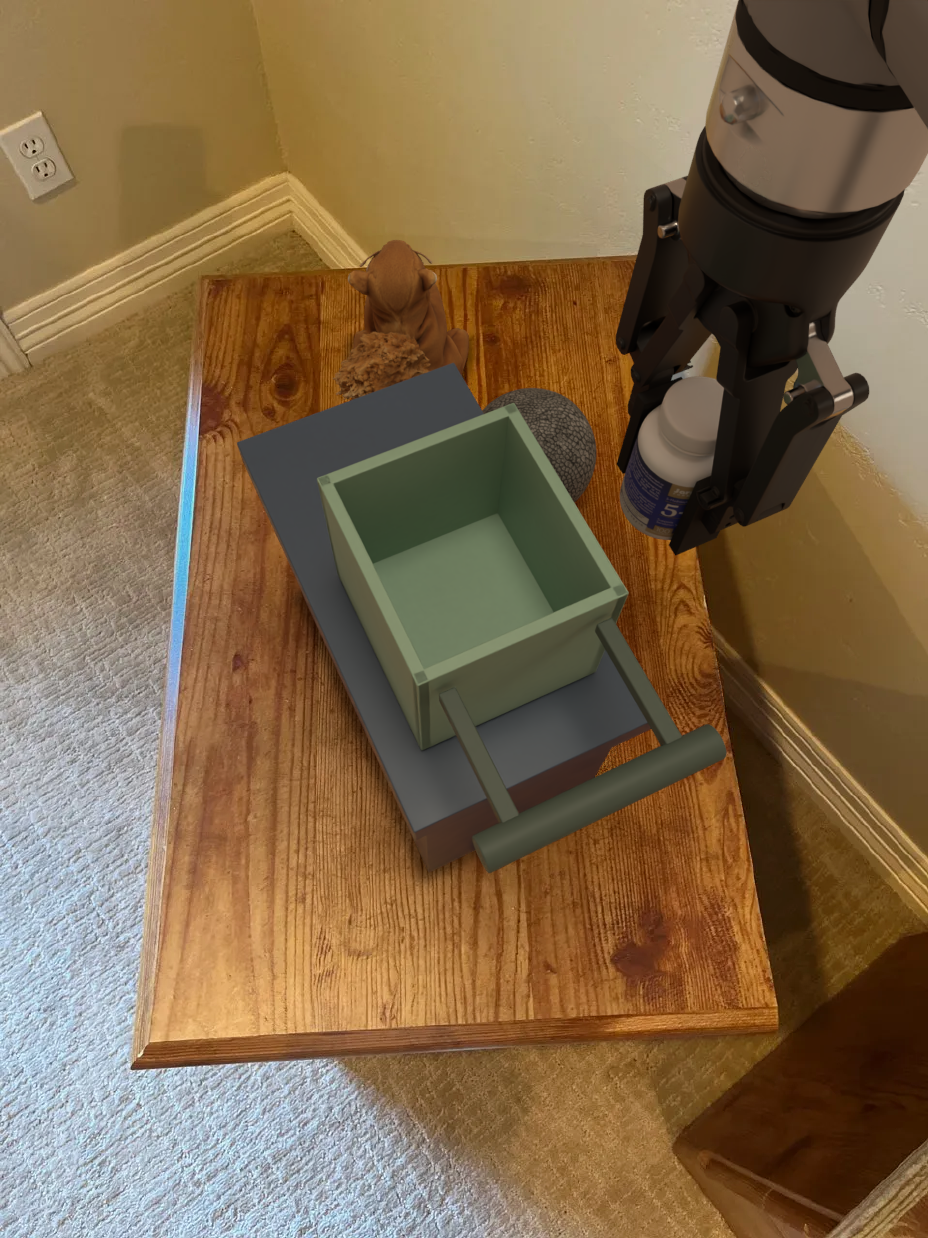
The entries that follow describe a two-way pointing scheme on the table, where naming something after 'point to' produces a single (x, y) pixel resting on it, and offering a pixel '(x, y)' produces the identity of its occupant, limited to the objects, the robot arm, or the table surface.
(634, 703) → the gray rectangular block
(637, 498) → the pill bottle
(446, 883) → the table surface
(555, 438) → the decorative ball
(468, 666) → the basket
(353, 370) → the stuffed squirrel
